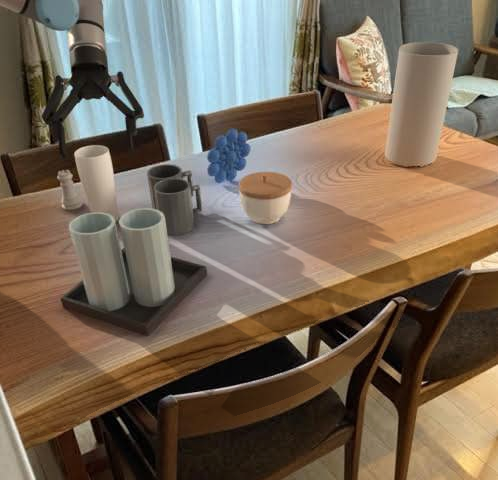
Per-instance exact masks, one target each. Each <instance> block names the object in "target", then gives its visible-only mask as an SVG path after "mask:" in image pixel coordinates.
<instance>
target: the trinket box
mask: <svg viewBox="0 0 498 480" xmlns="http://www.w3.org/2000/svg"><path fill="white" fill-rule="evenodd" d="M292 188H293V182H292V180H291V178H289V176H286V175H285V174H282V173H279V172H276V171H275V172H274V171H258V172H252V173H250V174H246V175H245V176H243V177H241V179H239V181H238V190H239V193H238V194H239V200H240V205H241V207H242V211H243V212H244V213H245V215H246V216H248V217H249V218H250V219H251V220H252V221H253V222H254V223H256V224H259V225H270V224H274V223H277V222H278V221H279V220H280V218H282V217H283V216H284V215H285V214H286V212H287V211H288V208H289V206H290V203H291V198H292Z"/></svg>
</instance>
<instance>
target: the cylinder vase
mask: <svg viewBox="0 0 498 480" xmlns="http://www.w3.org/2000/svg"><path fill="white" fill-rule="evenodd" d="M458 54H459V48H458V47H457V46H454V45H451V44H447V43H441V42H435V41H434V42H433V41H417V42H409V43H405V44H402V45H400V46H399V49H398V55H397V64H396V69H395V77H394V84H393V92H392V97H391V98H392V99H391V105H390V113H389V121H388V128H387V134H386V143H385V149H384V157H385V159H386V160H387V159H388V160H387V161H389V162H390V161H391V162H390V163H391V164H394V165H396V166H399V167H405V168H409V167H408V166H420V167H419V168H423V167H428V166H430V165H431V164H430V163H432V164H433V163H434V162H436V160H437V157H438V152H439V147H440V143H441V137H442V134H443V128H444V124H445V123H444V122H445V118H446V112H447V108H448V102H449V98H450V94H451V89H452V83H453V78H454V73H455V68H456V64H457V59H458ZM392 162H393V163H392ZM395 163H396V164H395ZM398 164H399V165H398ZM428 164H429V165H428ZM402 165H405V166H402ZM424 165H426V166H424Z"/></svg>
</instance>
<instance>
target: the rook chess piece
mask: <svg viewBox="0 0 498 480" xmlns="http://www.w3.org/2000/svg"><path fill="white" fill-rule="evenodd" d="M73 177H74V175H73V174H72V173H71V170H69V169H66V170H65V169H62V170H59V171H58V172H57V177H56V179H57V180H59V181H60V184H59V185H60V186H61V190H62V191H61V192H62V196H61V200H60V203H61V207H62V209H63V210H66V211H68V212H71V211H76V210H78V209H80V208H81V207H82V206H83V201H82V198H81V196H80V195H79V194H78V193H77V191H76V188H75V187H74V180H72V179H73Z"/></svg>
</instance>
